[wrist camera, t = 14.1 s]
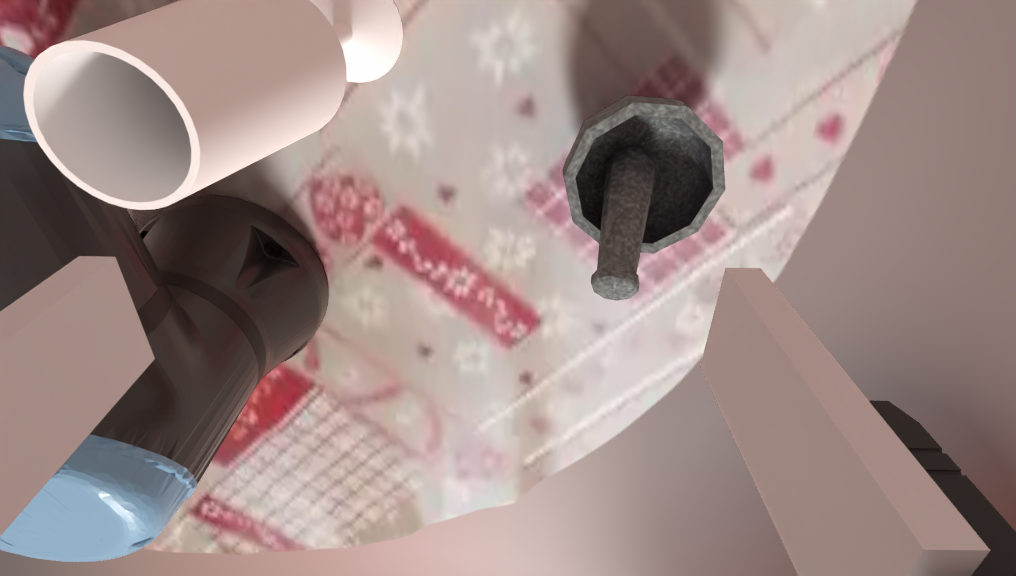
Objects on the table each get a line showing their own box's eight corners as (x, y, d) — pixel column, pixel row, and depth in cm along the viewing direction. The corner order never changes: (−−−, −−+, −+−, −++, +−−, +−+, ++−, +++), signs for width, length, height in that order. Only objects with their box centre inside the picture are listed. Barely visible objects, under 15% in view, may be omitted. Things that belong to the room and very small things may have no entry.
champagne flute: (291, -33, 34) (-66, -10, 14) (399, -29, 34) (203, 2, 14) (308, 80, 38) (43, 234, 17) (406, 85, 38) (257, 244, 17)
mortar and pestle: (599, 53, 36) (626, 94, 26) (723, 108, 38) (794, 167, 27) (532, 201, 42) (532, 283, 31) (642, 244, 43) (676, 335, 33)
